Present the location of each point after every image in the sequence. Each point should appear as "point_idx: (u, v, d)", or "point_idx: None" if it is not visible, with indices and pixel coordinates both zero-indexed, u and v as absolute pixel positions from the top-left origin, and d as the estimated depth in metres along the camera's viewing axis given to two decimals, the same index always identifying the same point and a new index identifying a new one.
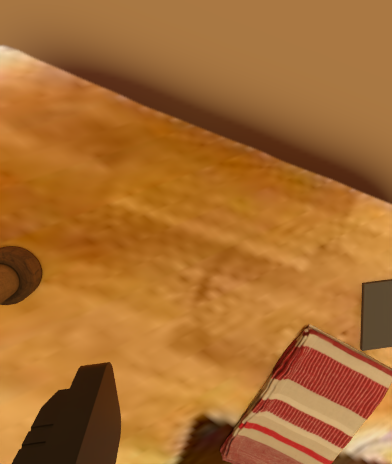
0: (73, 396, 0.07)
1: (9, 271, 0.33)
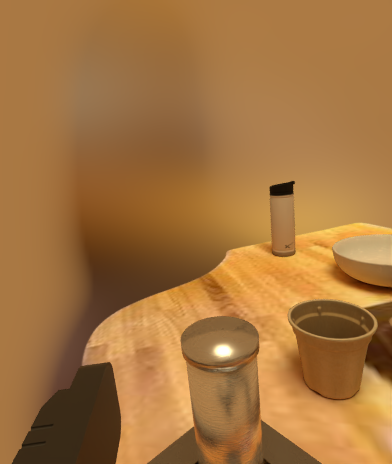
0: (73, 396, 0.07)
1: None
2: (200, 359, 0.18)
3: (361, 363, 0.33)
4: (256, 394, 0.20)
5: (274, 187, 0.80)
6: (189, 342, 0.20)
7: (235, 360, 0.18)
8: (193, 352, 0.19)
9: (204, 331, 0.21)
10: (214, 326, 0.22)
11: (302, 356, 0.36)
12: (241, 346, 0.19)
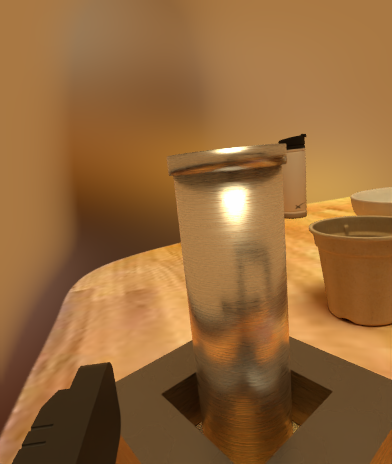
0: (73, 396, 0.07)
1: None
2: (195, 154, 0.11)
3: None
4: (282, 235, 0.13)
5: (284, 140, 0.73)
6: None
7: (252, 151, 0.11)
8: (184, 154, 0.12)
9: None
10: None
11: (328, 275, 0.28)
12: None
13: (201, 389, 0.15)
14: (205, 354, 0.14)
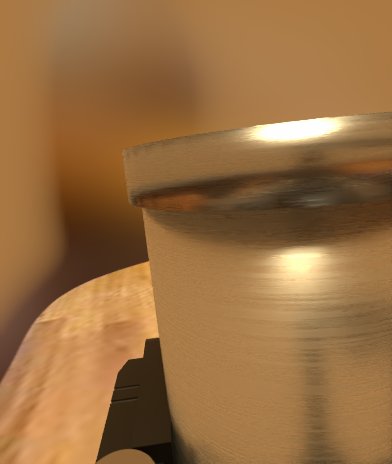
0: (149, 361, 0.07)
1: None
2: (202, 141, 0.03)
3: None
4: None
5: None
6: None
7: None
8: None
9: None
10: None
11: None
12: None
13: None
14: None
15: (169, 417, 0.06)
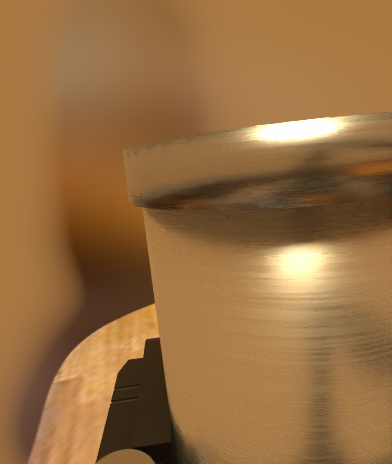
0: (149, 361, 0.07)
1: None
2: (202, 141, 0.03)
3: None
4: None
5: None
6: None
7: None
8: None
9: None
10: None
11: None
12: None
13: None
14: None
15: (169, 417, 0.06)
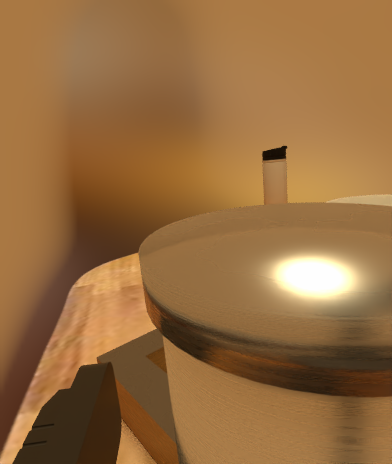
0: (74, 396, 0.07)
1: None
2: (239, 311, 0.03)
3: None
4: None
5: (266, 151, 0.80)
6: (175, 250, 0.05)
7: None
8: (193, 279, 0.03)
9: (234, 226, 0.06)
10: (267, 217, 0.06)
11: None
12: None
13: None
14: None
15: None
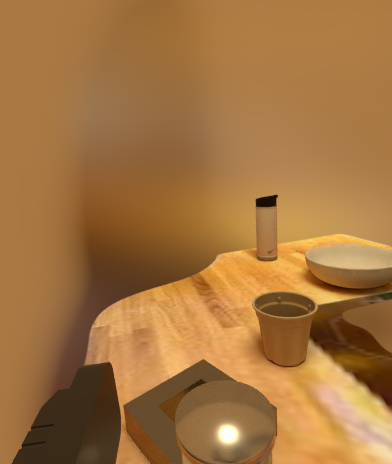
0: (73, 396, 0.07)
1: None
2: (199, 455, 0.14)
3: (304, 338, 0.44)
4: None
5: (259, 199, 0.91)
6: (186, 423, 0.16)
7: (246, 460, 0.14)
8: (190, 442, 0.14)
9: (205, 405, 0.17)
10: (218, 397, 0.17)
11: (262, 333, 0.46)
12: (253, 435, 0.15)
13: None
14: None
15: None
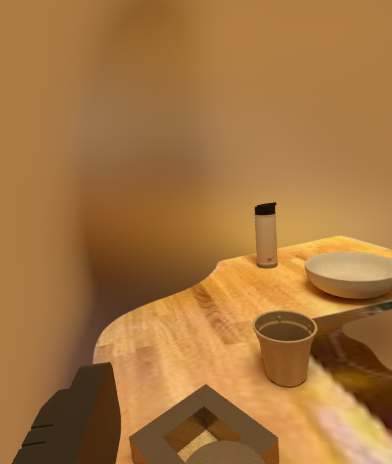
0: (73, 396, 0.07)
1: None
2: None
3: (305, 359, 0.44)
4: None
5: (258, 208, 0.91)
6: None
7: None
8: None
9: None
10: (219, 461, 0.18)
11: (263, 354, 0.47)
12: None
13: None
14: None
15: None
